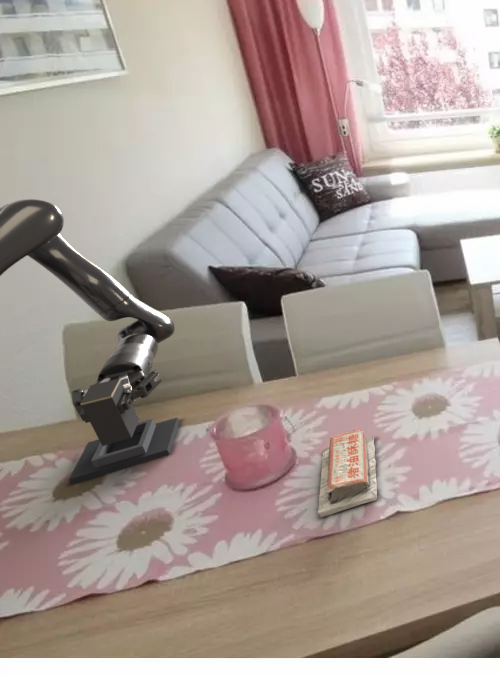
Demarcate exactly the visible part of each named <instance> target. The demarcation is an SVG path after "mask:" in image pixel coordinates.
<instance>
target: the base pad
mask: <svg viewBox="0 0 500 676" xmlns="http://www.w3.org/2000/svg"><path fill="white" fill-rule="evenodd" d="M179 425H180V419H179V417H173V418H170V419H167V420H163V421H159V422H155V420H154V418H150V419H145V420H143V421H142V420H141V421H138V424H137V426H136V428H135V431H134V433H133V436H132V438H130V439H126V440H123V441H119V442H115V443H112V444H108V445H105V446H102V444H101V442H100V440H99V439H95V440H92V441H89V442H87V444H86V446H85V448H84V449H83V452H82V453H81V456H80V457H79V459H78V461H77V463H76V465H75V466H74V469H73V471H72V473H71V475H70V477H69V478H68V479H69V481H70V483H71V485H74V484H78V483H79V482H84V481H87V480H90V479H94V478H97V477H100V476H104V475H107V474H110V473H114V472H117V471H120V470H124V469H127V468H130V467H133V466H136V465H140V464H143V463H146V462H150V461H153V460H156V459H159V458H163V457H167V456H170V454H171V452H172V449H173V445H174V441H175V439H176V438H175V437H176V435H177V432H178V429H179Z"/></svg>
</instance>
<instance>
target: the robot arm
mask: <svg viewBox="0 0 500 676" xmlns="http://www.w3.org/2000/svg"><path fill="white" fill-rule="evenodd" d="M64 224H65V218H64V214H63V212H62V211H61V209H59V208H58V206H56V205H55V204H53V203H52V202H49V201H47V200H42V199H36V198H27V199H25V198H24V199H19V200H15V201H12V202H10V203H7V204H4V205H2V206H1V207H0V277H1V276H2V275H3V274H4V273H5V272H7V271H8V270H9V269H10V268H11V267H13V266H14V265H15V264H17V263H19V262H20V261H21V260H22V259H24V258H25V257H28V258H30V259H31V260H33V261H34V262H36V263H38V265H40V266H42V267H43V268H45V269H46V270H47V271H48V272H50V273H51V274H52V275H53V276H54V277H56V278H57V279H58V280H59V281H60V282H62V283H63V284H64V285H65V286H66V287H67V288H68V289H70V291H72V292H73V293H74V294H75V295H76V296H77V297H79V298H80V299H81V300H82V301H83V302H84V303H85V304H86V305H87V306H88V307H89V308H90V309H92V310H93V311H94V312H95V313H96V314H97V315H99V316H100V317H101V318H102V319H103V320H105V321H107V322H115V321H118V320H122V319H126V318H130V319H131V318H132V319H135V320H134V321H132V322H131V323H128V324H127V325H124V326H123V327H122V328H121V329H120V330H118V331H117V333H116V335H115V340H116V348H114V351H113V352H111V354H110V355H109V356H108V358H107V360H105V361H106V362H105V363H104V365H103V366H102V368H101V370H100V371H99V373H98V375H97V379H96V382H95V383H94V384H93V385H95V384H99V383H103V382H107V381H111V380H116V379H120V380H121V382H122V384H123V387H124V390H123V391H124V393H125V394H122V395H121V397H120V399H119V401H118V403H117V407H118V410H119V412H120V413H121V414H122V413H126V411H127V409H129V408H130V407H131V405H132V406H133V404H134V403H135V402H136V401H137V399H138V398H141V399H144V398H147V397H148V396H150V394H151V393H152V392H153V391H154V390H155V389H156V388H157V387H158V386H159V385H160V384H161V382H162V378H161V375H160V374H159V371H158V370H157V369H156V370H152V368H153V364H154V360H155V357H156V356H157V353H158V349H159V344H161V342H164V341H166V340H167V339H169V338H171V336H173V335H174V333H175V329H176V327H175V323H174V321H173V320H172V319H171V318H170V317H169V316H168V315H167V314H165V313H164V312H162V311H160V310H158V309H156V308H153V307H152V306H151V305H148V304H147V303H145V302H143V301H141V300H140V299H138V298H137V297H136V296H134V295H133V294H132V293H131V292H130V291H129V290H128V289H127V288H126V287H125V286H124V285H122V283H120V281H118V280H117V279H116V278H115V277H114V276H113V275H111V274H109V272H107V271H105V270H104V269H103V268H101V267H100V266H98V265H96V264H95V263H93V262H92V261H91V260H89V259H88V258H86V257H85V256H83V255H82V254H80V253H79V251H77V250H76V249H75V248H73V246H71V245H70V244H69V242H67V240H65V238H64V237H63V236H62V235H61V232H62V231H63V228H64ZM151 370H152V371H151ZM87 391H88V389H85V390H81V388H77V389H74V390H72V391H71V400H72V405H73V407H74V409H75V410H76V413H77V414H78V415H79V417H80V418H81V420H82V422H84V423H90V421H89V419H88V417H87V415H86V413H85V411H84V409H83V408H82V406H81V404H80V403H81V401H82V399H83V398H84V396H85V394H86V393H87Z"/></svg>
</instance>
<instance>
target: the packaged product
mask: <svg viewBox="0 0 500 676" xmlns="http://www.w3.org/2000/svg"><path fill="white" fill-rule="evenodd" d="M329 438H330V439H329V446H328V447H326V448H324V449H323V450H322V457H321V472H320V473H321V474H320V482H319V483H320V484H319V496H318V507H317V508H318V510H317V514H318V516H319V517H320V518H325V517H327V516H331V515H334V514H336V513H339V512H342V511H345V510H348V509H352V508H354V507H357V506H361V505H364V504H367V503H371V502H375V501H378V490H377V489H378V488H377V487H378V486H377V474H376V473H377V472H376V466H377V465H376V463H377V460H376V455H375V454H376V448H375V447H376V446H375V437H374V436H369V437H365V433H364V431H363V430H361V429H360V430H357V429H353V430H350V431H347V432H342V433H339V434H336V435H332V436H330V437H329Z"/></svg>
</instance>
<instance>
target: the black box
mask: <svg viewBox="0 0 500 676" xmlns="http://www.w3.org/2000/svg"><path fill="white" fill-rule="evenodd" d="M94 384H95V383H94ZM94 384H91V385H90V386H89V387H88V389H87V390H88V391H87V393H86V394H85V396H84V398H83V399H82V401H81V403H80V404H81V406H82V408H83V409H84V411H85V413H86V415H87V417H88V419H89V421H90V422H89V424H90V425H91V427H92V429H93V431H94V433H95V434H96V435H95V436H96V437H97V438H98V440H100V442H101V444H102V446H105V445H108V444H112V443H115V442H119V441H123V440H126V439H130V438H132V436H133V433H134V431H135V428H136V426H137V424H138V423H139V422H140V419H139V415H138V414H137V412H136V410H135V408H134V406H133V404H132V405H131V407H130V408H129V409H127V411H126V413H122V414H121V413H120V412H119V410H118V407H117V403H118V401H119V399H120V397H121V395H122V394H125V393H124V391H123V390H124V387H123V384H122V382H121V380H120V379H116V380H111V381H107V382H103V383H99V384H95V385H94Z"/></svg>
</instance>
